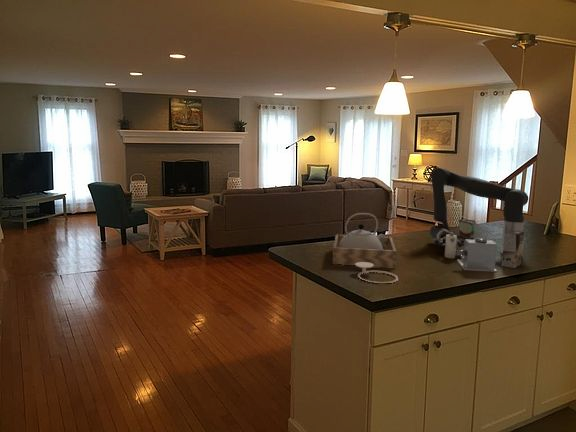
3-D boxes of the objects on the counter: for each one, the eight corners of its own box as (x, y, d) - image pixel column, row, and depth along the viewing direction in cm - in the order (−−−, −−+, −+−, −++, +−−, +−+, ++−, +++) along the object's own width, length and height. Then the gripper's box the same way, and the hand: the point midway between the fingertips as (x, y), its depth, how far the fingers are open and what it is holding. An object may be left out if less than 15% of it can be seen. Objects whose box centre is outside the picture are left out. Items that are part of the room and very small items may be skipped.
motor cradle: (486, 262, 227) (489, 234, 224) (497, 271, 210) (499, 241, 208) (450, 260, 229) (452, 232, 227) (457, 269, 212) (459, 239, 210)
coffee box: (515, 268, 216) (519, 234, 214) (501, 265, 220) (504, 232, 218) (520, 264, 223) (524, 231, 221) (506, 262, 227) (509, 229, 225)
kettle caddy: (390, 252, 242) (391, 237, 241) (395, 268, 213) (396, 251, 211) (335, 249, 246) (335, 234, 245) (332, 264, 217) (333, 247, 215)
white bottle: (454, 256, 237) (455, 231, 235) (456, 259, 231) (458, 234, 229) (443, 255, 238) (445, 231, 236) (446, 258, 232) (447, 234, 230)
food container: (480, 238, 281) (481, 222, 279) (471, 239, 278) (473, 222, 277) (465, 234, 292) (466, 218, 290) (457, 235, 290) (458, 219, 288)
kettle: (371, 251, 245) (373, 208, 241) (396, 262, 224) (399, 215, 220) (328, 254, 236) (330, 210, 232) (350, 266, 215) (352, 217, 211)
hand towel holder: (379, 277, 185) (343, 265, 201) (378, 288, 186) (343, 275, 202) (407, 270, 195) (371, 259, 211) (406, 280, 196) (370, 268, 212)
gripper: (431, 230, 249) (436, 236, 233) (459, 231, 247) (466, 238, 231) (430, 244, 250) (435, 251, 235) (458, 245, 248) (465, 252, 232)
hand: (451, 244), depth 233 cm, fingers open, 8 cm apart
